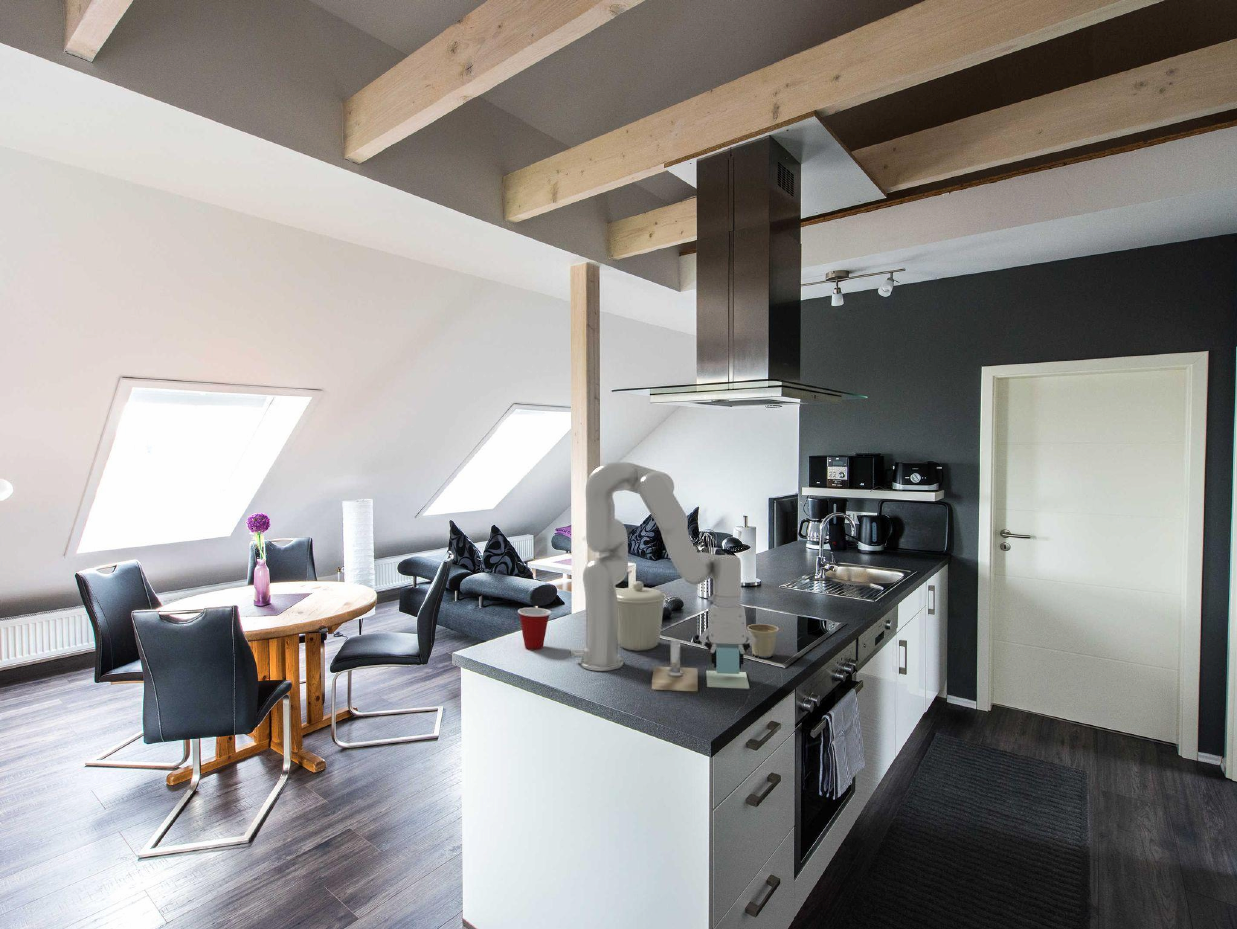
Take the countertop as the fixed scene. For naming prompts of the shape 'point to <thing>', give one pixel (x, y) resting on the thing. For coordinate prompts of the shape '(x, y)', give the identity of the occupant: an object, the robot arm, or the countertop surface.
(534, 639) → the plastic cup
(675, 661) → the post
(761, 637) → the flower pot
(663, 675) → the post base
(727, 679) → the mat
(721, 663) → the light blue upright block
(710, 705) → the countertop surface
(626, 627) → the canister
